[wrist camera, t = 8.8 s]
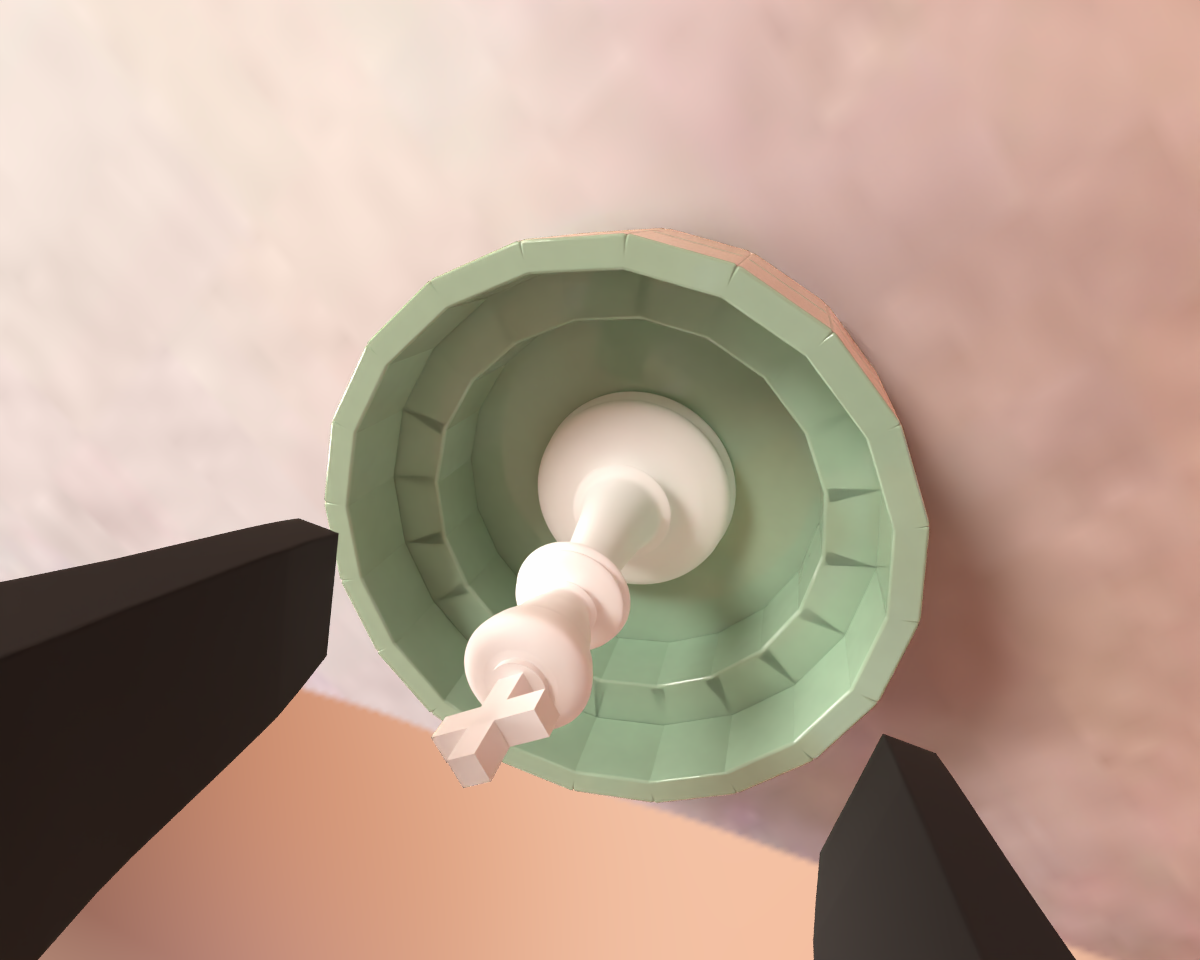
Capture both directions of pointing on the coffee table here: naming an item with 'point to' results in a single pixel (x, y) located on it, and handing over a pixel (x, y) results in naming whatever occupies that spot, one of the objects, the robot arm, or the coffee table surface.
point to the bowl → (657, 611)
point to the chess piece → (589, 566)
